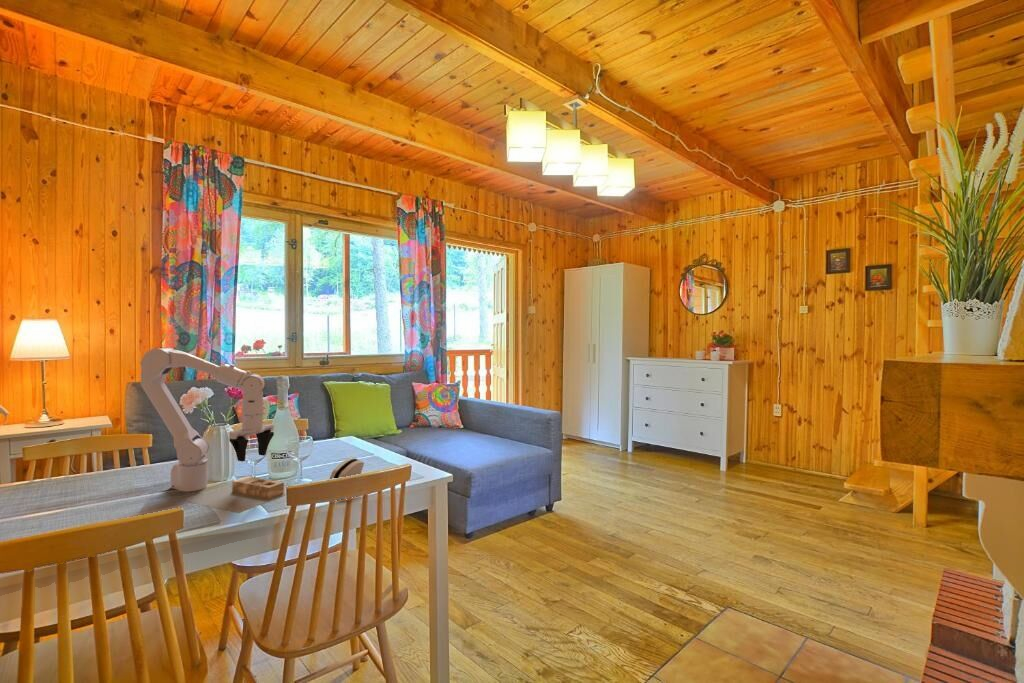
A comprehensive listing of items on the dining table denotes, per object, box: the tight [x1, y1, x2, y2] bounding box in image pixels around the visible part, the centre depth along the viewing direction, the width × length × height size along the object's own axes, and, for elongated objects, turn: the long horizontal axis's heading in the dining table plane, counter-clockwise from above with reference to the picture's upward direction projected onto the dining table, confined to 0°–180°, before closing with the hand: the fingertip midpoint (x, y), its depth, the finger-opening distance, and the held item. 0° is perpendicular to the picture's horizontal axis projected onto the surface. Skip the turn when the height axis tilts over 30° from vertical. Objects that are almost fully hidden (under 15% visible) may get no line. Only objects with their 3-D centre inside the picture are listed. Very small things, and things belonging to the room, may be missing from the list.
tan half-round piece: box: [328, 457, 365, 480], centre depth 156 cm, size 17×5×10 cm, turn 172°
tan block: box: [231, 475, 285, 498], centre depth 145 cm, size 14×5×3 cm, turn 69°
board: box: [179, 482, 288, 514], centre depth 143 cm, size 22×22×4 cm
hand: (251, 457), depth 153 cm, fingers open, 7 cm apart
